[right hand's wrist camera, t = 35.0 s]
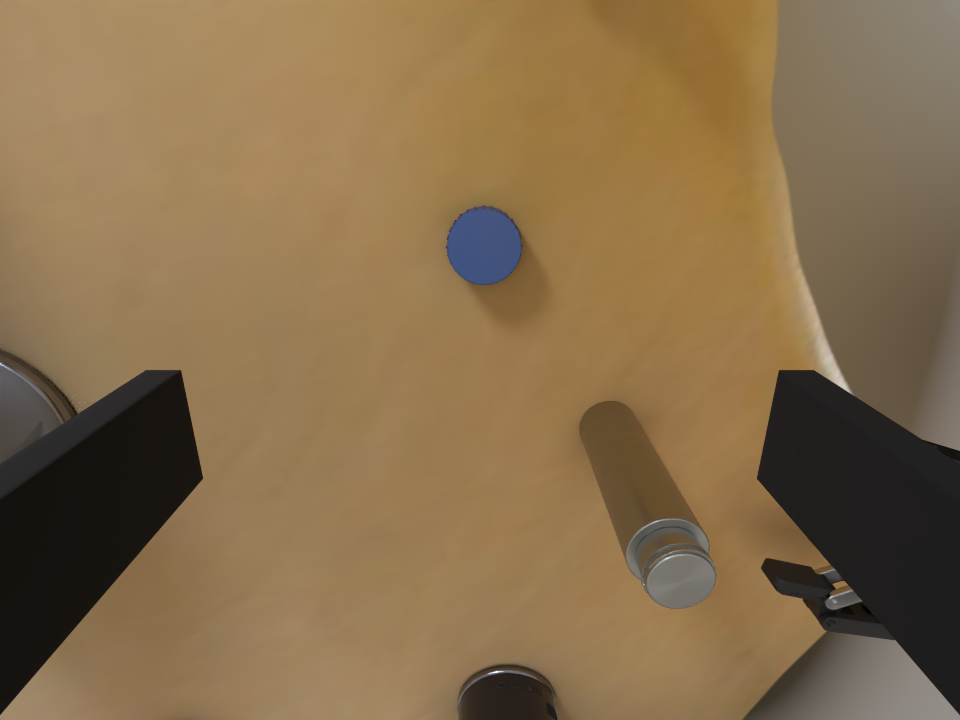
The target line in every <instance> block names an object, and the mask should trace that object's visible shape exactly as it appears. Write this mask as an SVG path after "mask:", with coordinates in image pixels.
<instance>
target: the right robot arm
mask: <svg viewBox="0 0 960 720" xmlns="http://www.w3.org/2000/svg"><path fill="white" fill-rule="evenodd" d="M202 479H203V476H202V471H201V466H200V461H199V456H198V451H197V446H196V441H195V437H194V432H193V427H192V422H191V417H190V412H189V407H188V402H187V397H186V392H185V388H184V383H183V378H182V373H181V370H146V371H144V372H143V373H141V374H139V375H138V376H136V377H135V378H133V379H132V380H130V381H129V382H127V383H125V384H124V385H122V386H121V387H119V388H118V389H116V390H115V391H113V392H111V393H110V394H108V395H107V396H105V397H104V398H102V399H101V400H99V401H97V402H96V403H94V404H93V405H91V406H90V407H88V408H87V409H85V410H83V411H82V412H80V413H79V414H77V415H75V414H74V412H73V410H72V408H71V407H70V405H69V404H68V402H67V401H66V399H65V398H64V397H63V395H62V394H61V393H60V392H59V391H58V389H57V388H56V387H55V386H54V385H53V384H52V383H51V382H50V381H49V380H48V379H46V378H45V377H44V376H43V375H42V374H41V373H39V372H38V371H37V370H36V369H34V368H33V367H31V366H30V365H28V364H27V363H25V362H24V361H22V360H20V359H18V358H17V357H15V356H13V355H11V354H9V353H7V352H4V351H2V350H0V715H1V713H2V712H3V711H4V710H5V709H6V708H7V706H8V705H9V704H10V703H11V702H12V701H13V699H14V698H15V697H16V696H17V695H18V694H19V692H20V691H21V690H22V689H23V688H24V687H25V685H26V684H27V683H28V682H29V681H30V680H31V678H32V677H33V676H34V675H35V674H36V673H37V671H38V670H39V669H40V668H41V667H42V666H43V665H44V663H45V662H46V661H47V660H48V659H49V658H50V656H51V655H52V654H53V653H54V652H55V651H56V649H57V648H58V647H59V646H60V645H61V644H62V642H63V641H64V640H65V639H66V638H67V637H68V635H69V634H70V633H71V632H72V631H73V630H74V628H75V627H76V626H77V625H78V624H79V623H80V621H81V620H82V619H83V618H84V617H85V616H86V614H87V613H88V612H89V611H90V610H91V609H92V607H93V606H94V605H95V604H96V603H97V602H98V600H99V599H100V598H101V597H102V596H103V595H104V593H105V592H106V591H107V590H108V589H109V588H110V586H111V585H112V584H113V583H114V582H115V581H116V579H117V578H118V577H119V576H120V575H121V574H122V572H123V571H124V570H125V569H126V568H127V567H128V565H129V564H130V563H131V562H132V561H133V560H134V558H135V557H136V556H137V555H138V554H139V553H140V551H141V550H142V549H143V548H144V547H145V546H146V544H147V543H148V542H149V541H150V540H151V539H152V537H153V536H154V535H155V534H156V533H157V532H158V530H159V529H160V528H161V527H162V526H163V525H164V523H165V522H166V521H167V520H168V519H169V518H170V516H171V515H172V514H173V513H174V512H175V511H176V510H177V508H178V507H179V506H180V505H181V504H182V503H183V501H184V500H185V499H186V498H187V497H188V496H189V494H190V493H191V492H192V491H193V490H194V489H195V487H196V486H197V485H198V484H199V483H200V482H201V480H202ZM757 479H758V480H759V482H760V483H761V484H762V485H763V486H764V487H765V489H766V490H767V491H768V492H769V493H770V494H771V496H772V497H773V498H774V499H775V500H776V501H777V503H778V504H779V505H780V506H781V507H782V508H783V510H784V511H785V512H786V513H787V514H788V515H789V516H790V518H791V519H792V520H793V521H794V522H795V523H796V525H797V526H798V527H799V528H800V529H801V530H802V532H803V533H804V534H805V535H806V536H807V537H808V539H809V540H810V541H811V542H812V543H813V544H814V546H815V547H816V548H817V549H818V550H819V551H820V553H821V554H822V555H823V556H824V557H825V558H826V560H827V561H828V562H829V563H830V564H831V565H832V567H833V568H834V569H835V570H836V571H837V572H838V574H839V575H840V576H841V577H842V578H843V579H844V581H845V582H846V583H847V584H848V585H849V586H850V588H851V589H852V590H853V591H854V592H855V593H856V595H857V596H858V597H859V598H860V599H861V600H862V602H863V603H864V604H865V605H866V606H867V607H868V609H869V610H870V611H871V612H872V613H873V614H874V616H875V617H876V618H877V619H878V620H879V621H880V623H881V624H882V625H883V626H884V627H885V628H886V630H887V631H888V632H889V633H890V634H891V635H892V637H893V638H894V639H895V640H896V641H897V642H898V643H899V645H900V646H901V647H902V648H903V649H904V651H905V652H906V653H907V654H908V655H909V656H910V658H911V659H912V660H913V661H914V662H915V663H916V665H917V666H918V667H919V668H920V669H921V670H922V671H923V673H924V674H925V675H926V676H927V677H928V678H929V680H930V681H931V682H932V683H933V684H934V685H935V687H936V688H937V689H938V690H939V691H940V692H941V694H942V695H943V696H944V697H945V698H946V699H947V701H948V702H949V703H950V704H951V705H952V706H953V708H954V709H955V710H956V711H957V712H958V713H959V715H960V464H959V463H958V462H956V461H954V460H953V459H951V458H950V457H948V456H947V455H945V454H944V453H942V452H940V451H939V450H937V449H936V448H934V447H933V446H931V445H930V444H928V443H926V442H925V441H923V440H922V439H920V438H919V437H917V436H915V435H914V434H912V433H911V432H909V431H908V430H906V429H905V428H903V427H901V426H900V425H898V424H897V423H895V422H894V421H892V420H891V419H889V418H887V417H886V416H884V415H883V414H881V413H880V412H878V411H877V410H875V409H873V408H872V407H870V406H869V405H867V404H866V403H864V402H862V401H861V400H859V399H858V398H856V397H855V396H853V395H852V394H850V393H849V392H847V391H845V390H844V389H842V388H841V387H839V386H838V385H836V384H835V383H833V382H831V381H830V380H828V379H827V378H825V377H824V376H822V375H821V374H819V373H817V372H816V371H814V370H779V373H778V378H777V383H776V388H775V392H774V397H773V402H772V407H771V412H770V417H769V422H768V427H767V432H766V437H765V441H764V446H763V451H762V456H761V461H760V466H759V471H758V476H757Z"/></svg>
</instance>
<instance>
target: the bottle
mask: <svg viewBox="0 0 960 720" xmlns="http://www.w3.org/2000/svg"><path fill="white" fill-rule="evenodd" d="M580 435H581V438H582V441H583V443H584V446H585V449H586V452H587V455H588V457H589V460H590V463H591V466H592V468H593V471H594V474H595V477H596V480H597V482H598V485H599V488H600V491H601V493H602V496H603V499H604V502H605V505H606V507H607V510H608V513H609V516H610V518H611V521H612V524H613V527H614V530H615V532H616V535H617V538H618V541H619V543H620V546H621V549H622V552H623V555H624V557H625V560H626V563H627V565H628V568H629V569H630V571H631V572H632V573H633V575H634V576H636V577H637V578H638V579H640V580H641V583H642V585H643V587H644V589H645V591H646V592H647V593H648V594H649V596H650V597H651V598H652V599H653V600H654V601H655V602H656V603H658V604H659V605H661V606H664V607H667V608H672V609H681V608H687V607H691V606H694V605H696V604H698V603H700V602H701V601H703V600H704V599H705V598H706V597H708V595H709V594H710V593H711V592H712V590H713V588H714V585H715V581H716V567H715V565H714V563H713V561H712V559H711V558H710V556H709V541H708V538H707V536H706V534H705V533H704V531H703V529H702V527H701V526H700V524H699V522H698V521H697V519H696V517H695V516H694V514H693V512H692V511H691V509H690V507H689V506H688V504H687V502H686V501H685V499H684V497H683V496H682V494H681V492H680V491H679V489H678V487H677V486H676V484H675V482H674V481H673V479H672V477H671V475H670V474H669V472H668V470H667V469H666V467H665V465H664V464H663V462H662V460H661V459H660V457H659V455H658V454H657V452H656V450H655V449H654V447H653V445H652V444H651V442H650V440H649V439H648V437H647V435H646V434H645V432H644V430H643V428H642V427H641V425H640V423H639V422H638V420H637V418H636V417H635V415H634V413H633V412H632V411H631V410H630V409H629V408H628V407H627V406H625V405H623V404H621V403H618V402H603V403H599V404H597V405H595V406H593V407H592V408H590V409H589V410H588V411H587V412H586V413H585V415H584V416H583V418H582V420H581V423H580Z"/></svg>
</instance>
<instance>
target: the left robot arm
mask: <svg viewBox="0 0 960 720" xmlns="http://www.w3.org/2000/svg"><path fill="white" fill-rule="evenodd" d="M923 441H925V440H923ZM925 442H926V443H928V444H930V445H931V446H933V447H934V448H936V449H937V450H939V451H940V452H942V453H944V454H945V455H947V456H948V457H950V458H951V459H953V460H954V461H956V462H958V463H959V464H960V451H958V450H955V449H951V448H948V447H945V446H941V445H938V444H935V443H931V442H928V441H925ZM761 569H762V571H763V572H764V574H765V575H766V576H767V578H768V579H769V581H770V582H771V584H772V585H773V586H774V588H775V589H776V591H778V592H779V593H781V594H782V595H787V596H793V597H798V598H803V602H804V603H805V604H806V606H807V607H808V608H809V609H810V610H811V612H812V613H813V614H814V616H815V617H816V618H817V620H818V621H819V623H820V625H821V626H822V627H823V629H824V630H826V631H832V632H839V633H846V634H853V635H861V636H868V637H876V638H882V639H890V640H895V639H894V638H893V637H892V635H891V634H890V633H889V632H888V631H887V630H886V628H885V627H884V626H883V625H882V624H881V623H880V621H879V620H878V619H877V618H876V617H875V616H874V614H873V613H872V612H871V611H870V610H869V609H868V607H867V606H866V605H865V604H864V603H863V602H862V600H861V599H860V598H859V597H858V596H857V595H856V593H855V592H854V591H853V590H852V589H851V588H850V586H849V585H847V586H844V587H841V588H838V589H836V588H835V587H834V586H833V585H832V584H833V583H836V582H839V581H844V579H843V578H842V577H841V576H840V575H839V574H838V572H837V571H836V570H835V569H834V568H833V567H832V565H829V566H826V567H823V568H820V569H817V570H813V569H812V568H811V567H809V566H804V565H799V564H794V563H789V562H784V561H779V560H774V559H769V558H766V559H765V560H764V562H763V564H762V566H761ZM458 714H459V718H458V720H559V716H558V712H557V703H556V696H555V692H554V690H553V688H552V686H551V685H550V683H549V682H548V681H547V680H546V679H545V678H544V677H542V676H541V675H539V674H538V673H536V672H534V671H531V670H529V669H526V668H522V667H516V666H500V667H494V668H490V669H487V670H484V671H481V672H479V673H477V674H476V675H474V676H473V677H471V678H470V679H469V680H468V681H467V682H466V683H465V684H464V686H463V687H462V689H461V691H460V693H459V697H458ZM557 718H558V719H557Z"/></svg>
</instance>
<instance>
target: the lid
mask: <svg viewBox="0 0 960 720" xmlns="http://www.w3.org/2000/svg"><path fill="white" fill-rule="evenodd" d="M453 224H454V225H453V227H451V228H450V231H449V232H450V234H449V235H448V237H447V240H448V242H447V246H446V248H447V253H448V255H447V256H448V257H449V260H450V264H451V265H452V267H453V268H454V270H455V271H456V272H457V273H458V274H459V275H460V276H461V277H462V278H464V279H465V280H467V281H469V282H472V283H475V284H481V285H488V284H493V283H497V282H499V281H501V280H503V279H505V278H506V277H507V276H509V275H510V274H511V273H512V271H513V270H514V269H515V267H516V266H517V264H518V262H519V259H520V256H521V247H522V244H521V236H520V234H519V233H518V231H519V230H518V228H517V226H515V225H514V221H513V219H510V218H509V217H508V215H507V213H506V214H505V213H503V212H502V211H501V210H500V209H499V210H498V209H495V208H493V207H492V206H491V207H484V206H483V207H477V208H476V207H474V208H473V209H470V210H467V211H466V212H465V213H463V214H460V216H459V218H458V219H457V220H455V221H454V223H453Z"/></svg>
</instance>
